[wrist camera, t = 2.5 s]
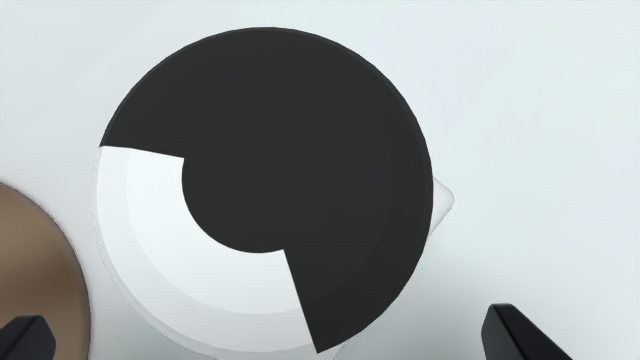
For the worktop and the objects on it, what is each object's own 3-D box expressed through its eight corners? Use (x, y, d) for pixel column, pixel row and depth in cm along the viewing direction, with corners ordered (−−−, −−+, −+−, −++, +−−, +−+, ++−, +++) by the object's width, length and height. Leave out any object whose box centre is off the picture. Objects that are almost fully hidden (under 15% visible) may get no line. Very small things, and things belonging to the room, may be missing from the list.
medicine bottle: (280, 118, 20) (242, -97, 8) (406, 221, 19) (566, 150, 7) (168, 242, 19) (-67, 200, 7) (298, 357, 18) (283, 529, 6)
